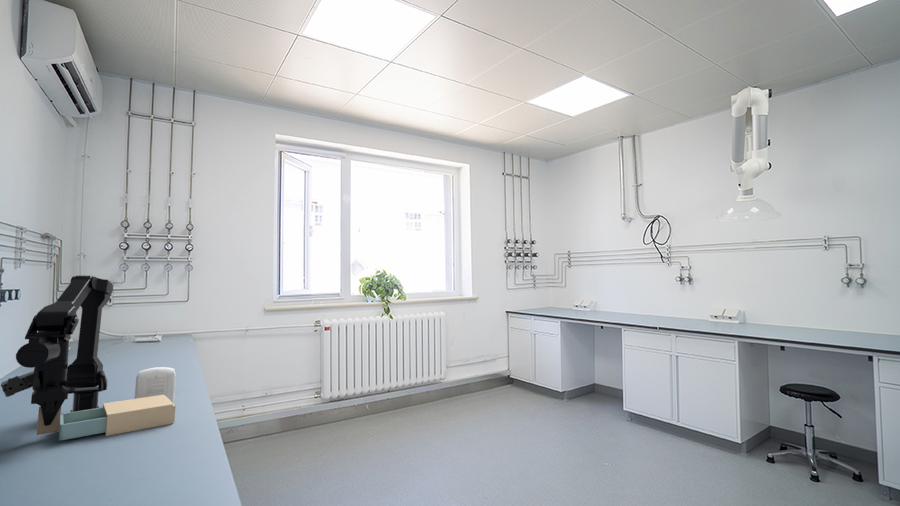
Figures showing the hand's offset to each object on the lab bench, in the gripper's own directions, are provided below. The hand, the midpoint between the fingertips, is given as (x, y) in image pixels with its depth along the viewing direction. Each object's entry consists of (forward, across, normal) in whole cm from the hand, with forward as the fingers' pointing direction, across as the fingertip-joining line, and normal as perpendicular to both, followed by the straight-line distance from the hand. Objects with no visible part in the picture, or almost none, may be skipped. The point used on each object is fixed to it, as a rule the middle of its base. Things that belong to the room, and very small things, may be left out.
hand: (47, 424), depth 103 cm
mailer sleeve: (+4, 0, +18) cm, 18 cm away
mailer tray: (+3, 0, +7) cm, 8 cm away
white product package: (+4, -14, +24) cm, 28 cm away
